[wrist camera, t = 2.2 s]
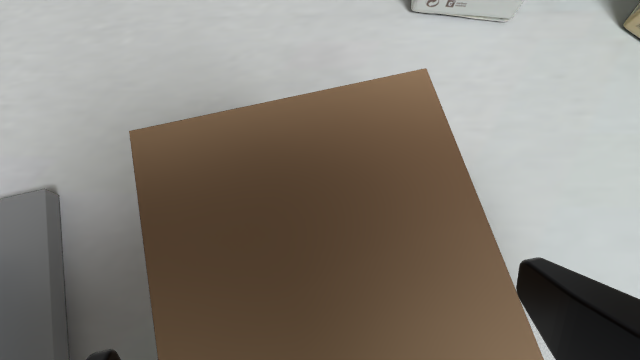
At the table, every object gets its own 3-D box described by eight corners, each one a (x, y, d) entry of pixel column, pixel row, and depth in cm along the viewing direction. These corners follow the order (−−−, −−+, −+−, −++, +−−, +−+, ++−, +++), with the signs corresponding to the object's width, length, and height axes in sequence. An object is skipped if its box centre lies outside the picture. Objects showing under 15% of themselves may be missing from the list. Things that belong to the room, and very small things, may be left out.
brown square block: (374, 331, 17) (551, 379, 5) (270, 361, 16) (175, 500, 4) (345, 229, 18) (425, 68, 6) (248, 254, 17) (129, 131, 6)
